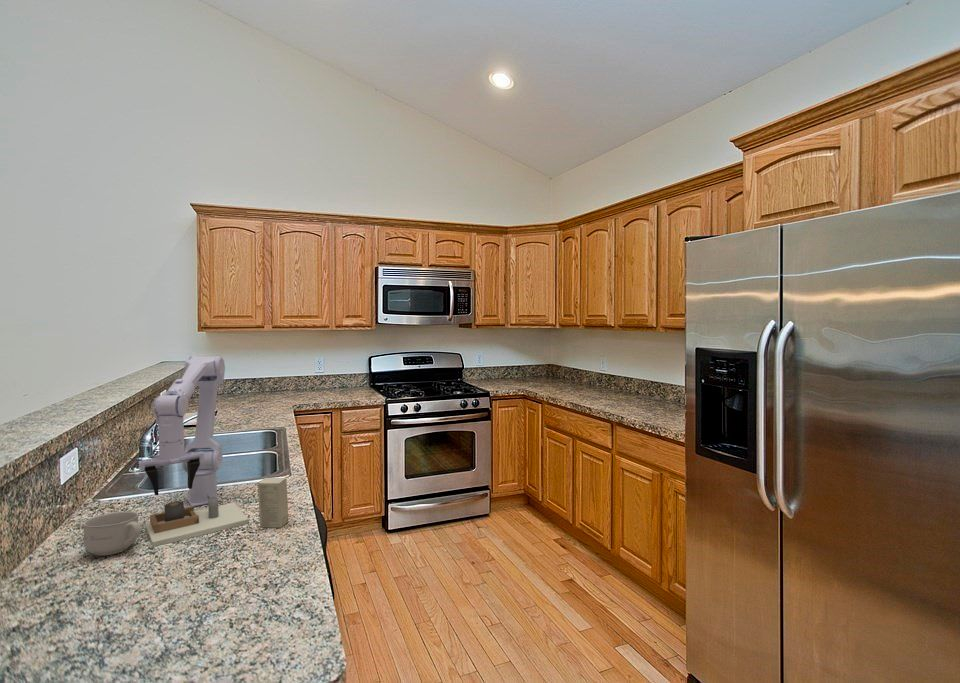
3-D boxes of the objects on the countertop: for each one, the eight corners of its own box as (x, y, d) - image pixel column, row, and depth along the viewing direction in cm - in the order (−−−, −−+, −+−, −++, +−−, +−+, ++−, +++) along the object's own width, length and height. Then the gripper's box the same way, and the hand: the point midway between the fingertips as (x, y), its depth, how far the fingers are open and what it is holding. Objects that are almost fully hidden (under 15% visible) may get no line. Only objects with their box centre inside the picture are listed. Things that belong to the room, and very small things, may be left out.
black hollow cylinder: (164, 522, 135) (163, 503, 135) (183, 518, 137) (182, 499, 137) (165, 527, 131) (164, 508, 131) (185, 523, 134) (184, 504, 134)
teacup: (74, 554, 119) (73, 521, 119) (124, 536, 129) (123, 506, 128) (106, 568, 113) (105, 532, 112) (156, 548, 122) (155, 515, 122)
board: (145, 526, 135) (144, 503, 135) (234, 506, 149) (233, 485, 149) (152, 547, 123) (151, 522, 122) (248, 523, 137) (248, 501, 136)
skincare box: (288, 521, 138) (287, 477, 137) (280, 528, 133) (279, 483, 133) (266, 520, 138) (265, 477, 138) (258, 527, 134) (257, 482, 133)
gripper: (140, 447, 126) (142, 501, 126) (205, 438, 135) (207, 488, 135) (137, 442, 131) (139, 494, 132) (200, 434, 140) (201, 482, 141)
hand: (173, 491), depth 134 cm, fingers open, 7 cm apart
